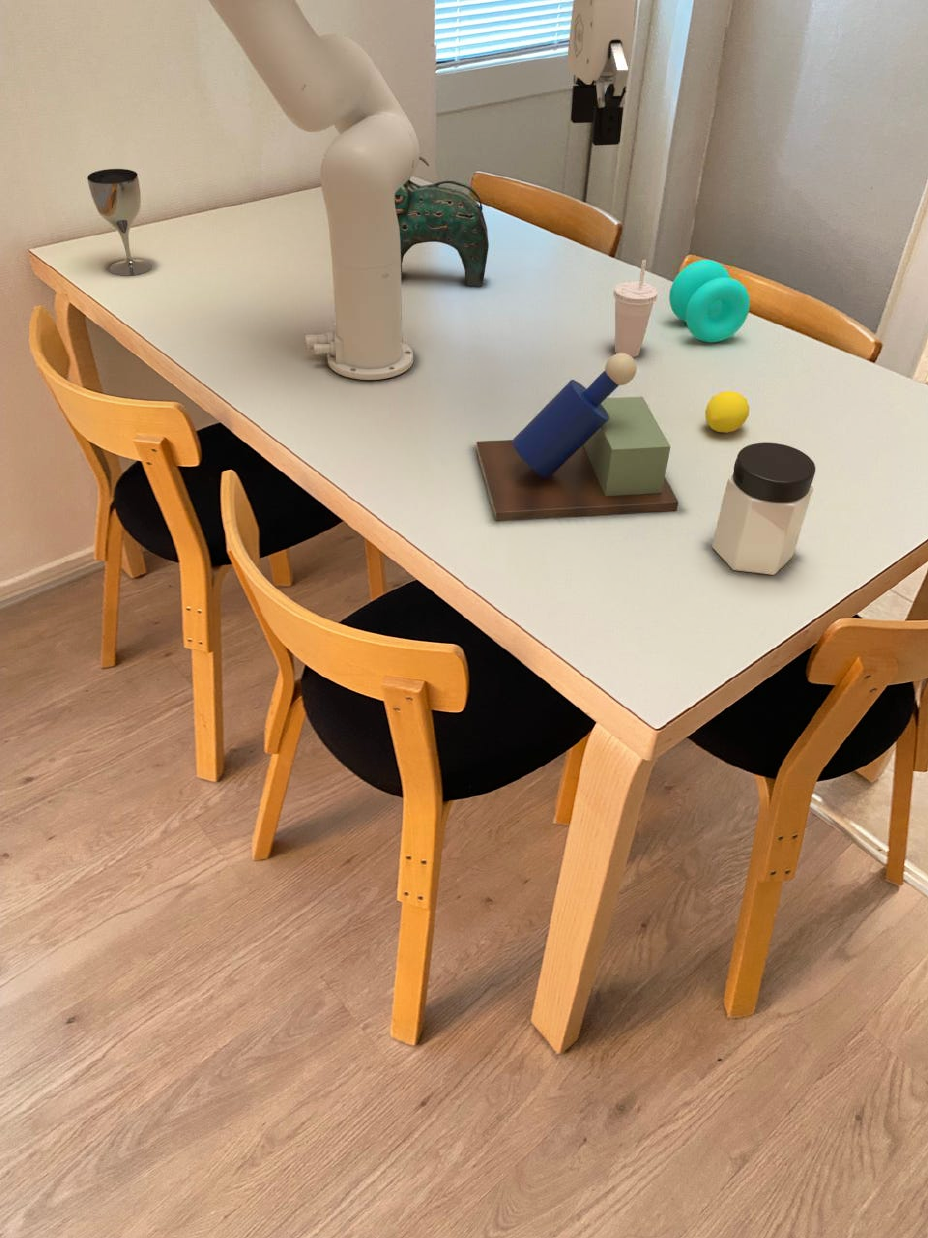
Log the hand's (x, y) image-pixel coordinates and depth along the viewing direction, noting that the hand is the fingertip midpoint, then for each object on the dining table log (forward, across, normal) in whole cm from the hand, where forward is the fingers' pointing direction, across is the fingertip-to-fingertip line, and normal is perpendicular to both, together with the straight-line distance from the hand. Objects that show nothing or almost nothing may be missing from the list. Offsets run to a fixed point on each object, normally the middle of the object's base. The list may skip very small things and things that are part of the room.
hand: (594, 132), depth 115 cm
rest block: (+33, +22, +1) cm, 40 cm away
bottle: (+33, +21, -6) cm, 40 cm away
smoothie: (+34, -12, +12) cm, 38 cm away
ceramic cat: (+34, -43, -14) cm, 56 cm away
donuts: (+35, -18, +26) cm, 47 cm away
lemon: (+35, +12, +18) cm, 41 cm away
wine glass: (+33, -54, -65) cm, 90 cm away
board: (+34, +21, -5) cm, 41 cm away
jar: (+35, +39, +11) cm, 53 cm away
